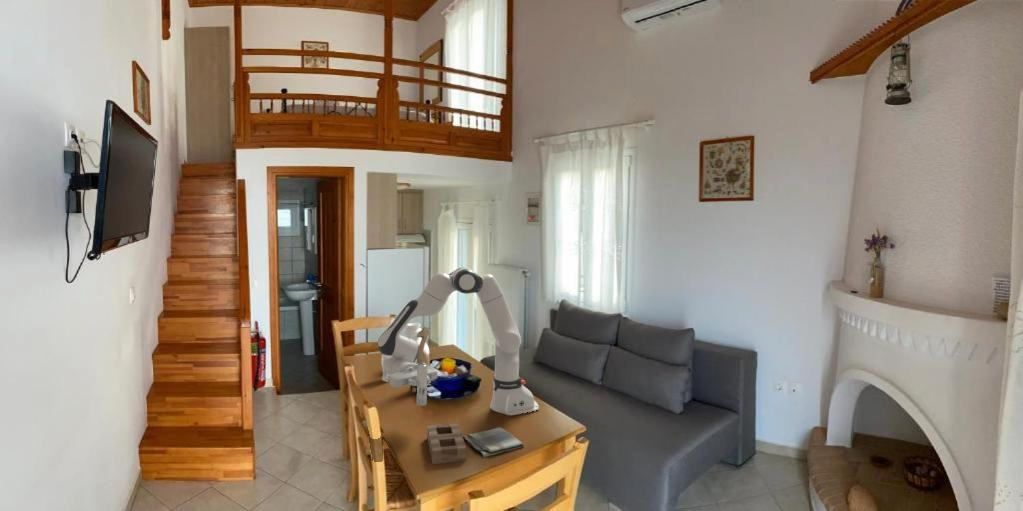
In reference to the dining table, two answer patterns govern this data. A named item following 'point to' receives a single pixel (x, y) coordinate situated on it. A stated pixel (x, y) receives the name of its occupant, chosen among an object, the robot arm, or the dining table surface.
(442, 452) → the bore block
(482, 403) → the dining table surface
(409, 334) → the decorative vase
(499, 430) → the dish towel
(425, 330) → the bird sculpture
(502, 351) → the robot arm
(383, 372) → the beer glass
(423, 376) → the pin
